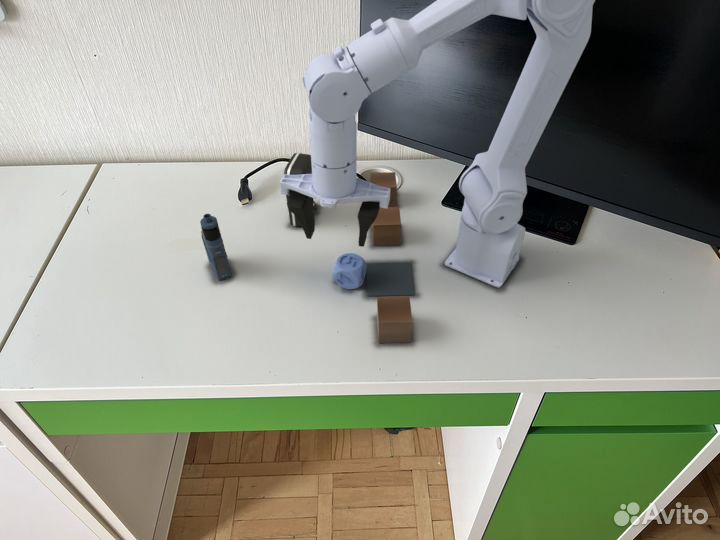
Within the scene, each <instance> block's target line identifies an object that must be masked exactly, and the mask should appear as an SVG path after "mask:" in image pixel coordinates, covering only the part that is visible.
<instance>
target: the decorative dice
mask: <svg viewBox="0 0 720 540" xmlns="http://www.w3.org/2000/svg"><path fill="white" fill-rule="evenodd" d="M366 263H367V262H366V260H365V259H364V258H363V257H362V256H361V255H359V254H357V253H352V252H346V253H344V254H341V255H340V256H339V257H337V259H336V262H335V265H334V270H333V280H334V282H335V283H336V284H337V285H338V286H339V287H340V288H342V289H346V290H355V289H358V288H360V287H361V286H363V283H364V282H365V277H366V274H367V272H366Z"/></svg>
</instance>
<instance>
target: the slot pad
mask: <svg viewBox="0 0 720 540" xmlns="http://www.w3.org/2000/svg"><path fill="white" fill-rule="evenodd" d="M412 274H413V273H412V267H411V262H408V261H406V262H405V261H403V262H366V290H367V291H366V294H367V297H370V298H371V297H410V296H415V289H414V283H413V275H412Z"/></svg>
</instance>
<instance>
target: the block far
mask: <svg viewBox="0 0 720 540" xmlns="http://www.w3.org/2000/svg"><path fill="white" fill-rule="evenodd" d="M369 179H370V180H369V182H370V183H372V184H375V185H378V186H381V187H386V188H390V201H389V205H388V207H397V198H398V195H397V194H398V183H397V175H396V172H395V171H392V172H391V171H390V172H388V171H387V172H370V173H369Z"/></svg>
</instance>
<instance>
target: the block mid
mask: <svg viewBox="0 0 720 540" xmlns="http://www.w3.org/2000/svg"><path fill="white" fill-rule="evenodd" d="M371 232H372V233H371V235H372V246H373V247H379V246H382V247H384V246H401V241H402V240H401V238H402V219H401V210H400V206H396V207H388V208H380V209H379V212H378V215H377V218H376V219H375V221H374V222H373V224H372V225H371Z"/></svg>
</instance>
